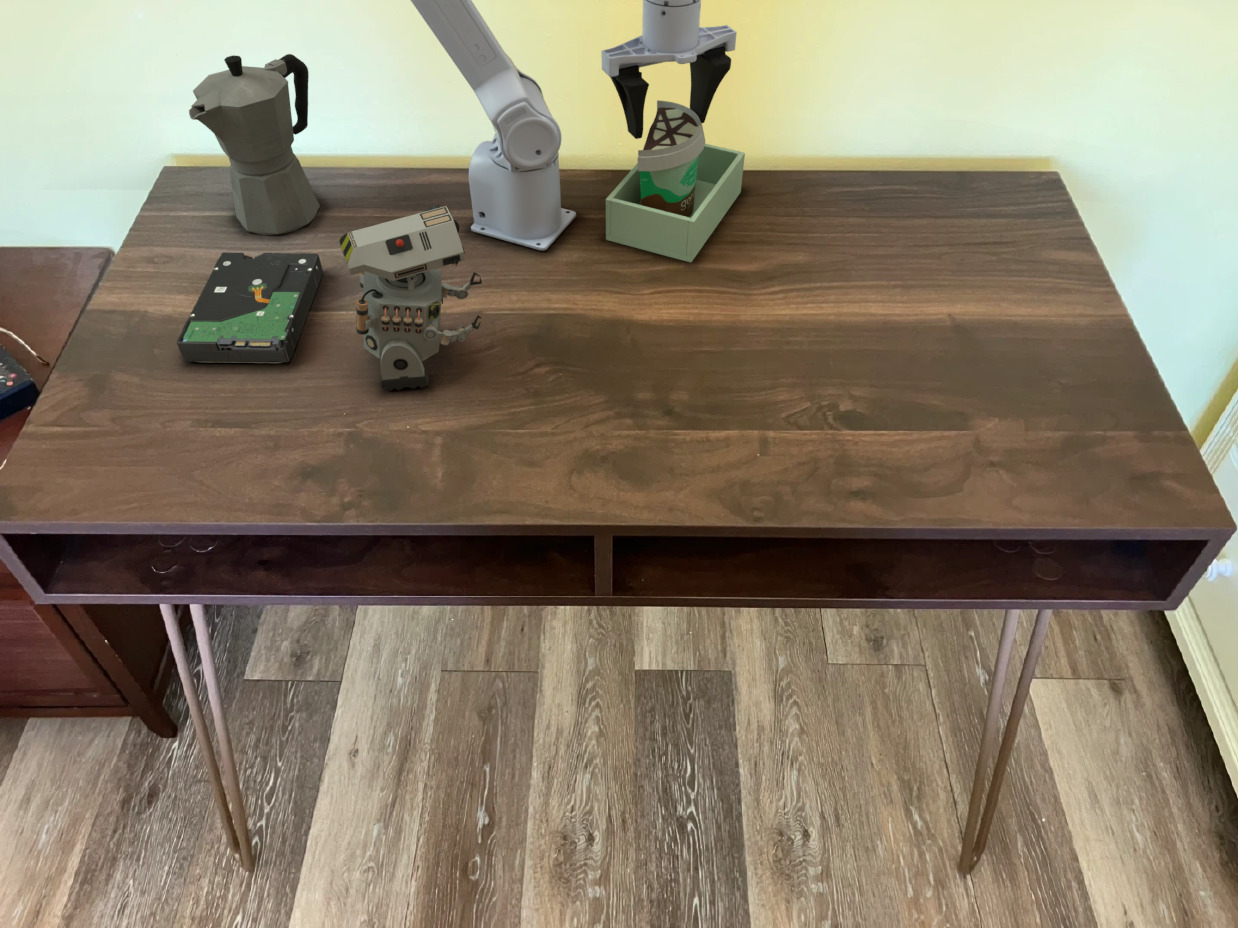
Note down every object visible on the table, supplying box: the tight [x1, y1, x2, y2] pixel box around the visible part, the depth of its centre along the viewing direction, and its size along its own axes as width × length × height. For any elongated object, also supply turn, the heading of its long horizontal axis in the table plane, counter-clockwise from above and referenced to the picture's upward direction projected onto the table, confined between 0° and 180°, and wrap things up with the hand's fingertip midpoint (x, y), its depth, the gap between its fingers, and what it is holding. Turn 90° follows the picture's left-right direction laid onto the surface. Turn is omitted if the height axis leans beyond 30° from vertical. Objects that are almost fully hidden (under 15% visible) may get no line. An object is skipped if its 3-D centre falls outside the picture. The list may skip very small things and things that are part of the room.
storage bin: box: [605, 143, 746, 263], centre depth 105 cm, size 10×16×5 cm, turn 155°
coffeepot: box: [188, 53, 321, 236], centre depth 101 cm, size 15×9×18 cm, turn 149°
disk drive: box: [176, 251, 324, 364], centre depth 93 cm, size 10×3×15 cm
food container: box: [637, 99, 706, 217], centre depth 103 cm, size 12×6×10 cm, turn 168°
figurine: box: [337, 204, 483, 392], centre depth 85 cm, size 9×12×15 cm
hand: (666, 126), depth 101 cm, fingers open, 7 cm apart
